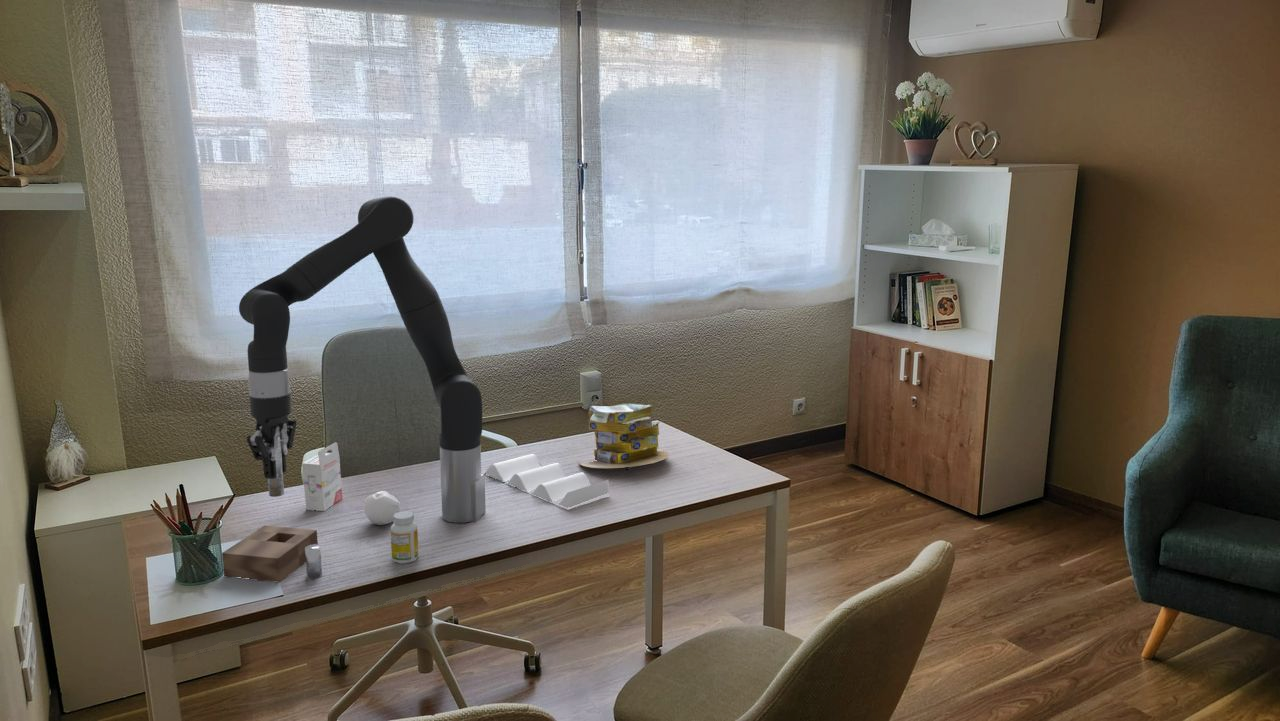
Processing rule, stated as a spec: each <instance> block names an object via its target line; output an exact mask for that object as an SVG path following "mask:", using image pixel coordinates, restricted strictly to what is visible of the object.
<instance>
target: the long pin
mask: <svg viewBox="0 0 1280 721" xmlns="http://www.w3.org/2000/svg"><path fill="white" fill-rule="evenodd" d="M265 444H267V445H272V443H265ZM267 451H268V454H269V455H270V450H269V449H267ZM275 460H276V475H277V476H276V478H274V479H268V478H267V484H268V496H269V497H271V498H275V497H281V496H284V495H285V484H284V473H283V469H282V453H281V438H280V432H279V435H278V448H277V449H276V450H275Z"/></svg>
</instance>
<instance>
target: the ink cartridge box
mask: <svg viewBox="0 0 1280 721" xmlns="http://www.w3.org/2000/svg"><path fill="white" fill-rule="evenodd" d="M338 446H339V445H338V442H336V441H335V442H333V443H332V444H329V445H328V446H326V447H324V448H323V449H321V450H319V451H318V452H317V455H315V456H313V457H312V458H311V457H310V459H308V460H306V461H304V462H302V463H301V466H302V475H303V487H304V499H305V510H306V509H307V510H306V511H314V510H316V511H317V512H325V511H327V510H329V507H330V508H331V507H333V506H334V505H335V504H337V503H339V501H341V500H342V499H343V492H342V491H343V490H342V486H343V485H342V474H341V461H340V454H339V447H338ZM329 451H331V452H329ZM316 511H315V512H316Z"/></svg>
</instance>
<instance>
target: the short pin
mask: <svg viewBox="0 0 1280 721" xmlns="http://www.w3.org/2000/svg"><path fill="white" fill-rule="evenodd" d="M321 551H322V550H321V545H320V544H318V545H316V544H313V545H309V546H306V547H305V556H306V562H305V566H306V578H307V579H309V580H315V579H319V578H321V577H322V576H323V569H322V566H323V565H322V556H321V555H322V552H321Z"/></svg>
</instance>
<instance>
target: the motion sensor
mask: <svg viewBox="0 0 1280 721" xmlns="http://www.w3.org/2000/svg"><path fill="white" fill-rule="evenodd" d="M363 503H364V506H363V507H364V508H363V510H364V514H365V517H366V518H367V519H368V520H369V522H370V523H372V524H374V525H378V526H385V525H388V524H390V523H392V522H394V521H393V520H394V519H393V516H394V514H395V513H397V512H401V502H400V501H399V500H398V498H396V496H395V495H392V494H390V493H389V492H388V491H387V490H386V491H385V490H381V491H378V492H375V493H374V494H370V495H368V496H367V497H366V498H365V500H364V502H363Z"/></svg>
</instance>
